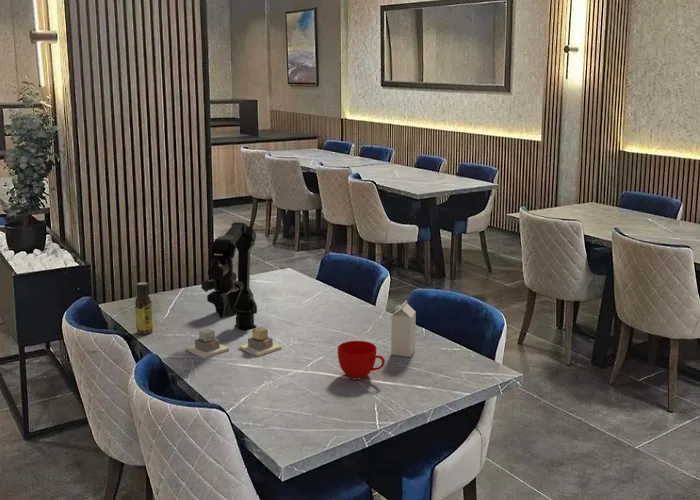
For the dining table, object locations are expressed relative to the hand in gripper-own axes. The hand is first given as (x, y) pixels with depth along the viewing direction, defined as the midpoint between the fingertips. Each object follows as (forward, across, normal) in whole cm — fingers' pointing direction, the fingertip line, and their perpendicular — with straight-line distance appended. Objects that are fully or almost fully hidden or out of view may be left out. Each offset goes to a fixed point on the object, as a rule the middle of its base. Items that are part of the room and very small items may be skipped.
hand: (226, 313), depth 273 cm
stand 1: (+13, +5, -6) cm, 15 cm away
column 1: (+11, +5, -6) cm, 14 cm away
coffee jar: (+13, -36, -18) cm, 43 cm away
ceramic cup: (+13, +12, +55) cm, 58 cm away
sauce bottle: (+13, -5, -38) cm, 40 cm away
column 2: (+11, -2, +12) cm, 17 cm away
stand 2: (+13, -2, +12) cm, 18 cm away
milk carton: (+13, -13, +64) cm, 66 cm away
